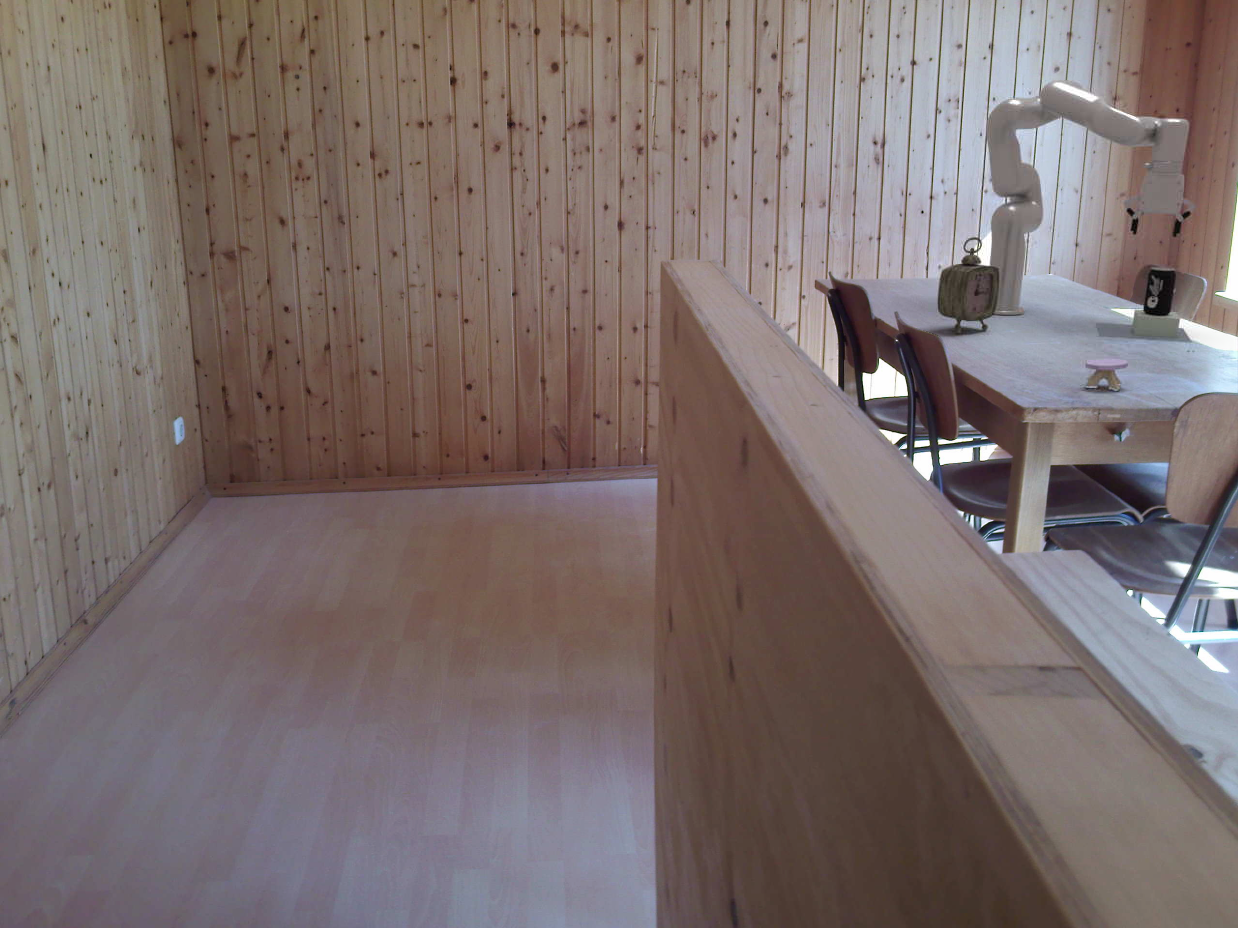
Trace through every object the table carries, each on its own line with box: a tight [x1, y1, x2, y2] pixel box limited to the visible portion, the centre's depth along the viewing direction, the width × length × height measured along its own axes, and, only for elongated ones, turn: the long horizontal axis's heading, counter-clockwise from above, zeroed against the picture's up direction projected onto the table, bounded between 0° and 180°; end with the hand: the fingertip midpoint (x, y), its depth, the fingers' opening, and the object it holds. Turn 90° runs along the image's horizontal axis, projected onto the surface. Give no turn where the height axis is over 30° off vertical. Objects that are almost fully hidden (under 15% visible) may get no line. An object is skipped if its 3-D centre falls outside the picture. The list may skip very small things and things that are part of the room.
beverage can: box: [1142, 266, 1177, 316], centre depth 294 cm, size 7×7×12 cm
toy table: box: [1084, 358, 1129, 390], centre depth 244 cm, size 10×9×6 cm
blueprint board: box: [1095, 322, 1193, 343], centre depth 298 cm, size 22×20×1 cm
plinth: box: [1132, 309, 1181, 338], centre depth 297 cm, size 10×10×5 cm
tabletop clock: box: [937, 236, 999, 335], centre depth 300 cm, size 14×9×25 cm, turn 123°
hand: (1154, 235), depth 296 cm, fingers open, 9 cm apart
